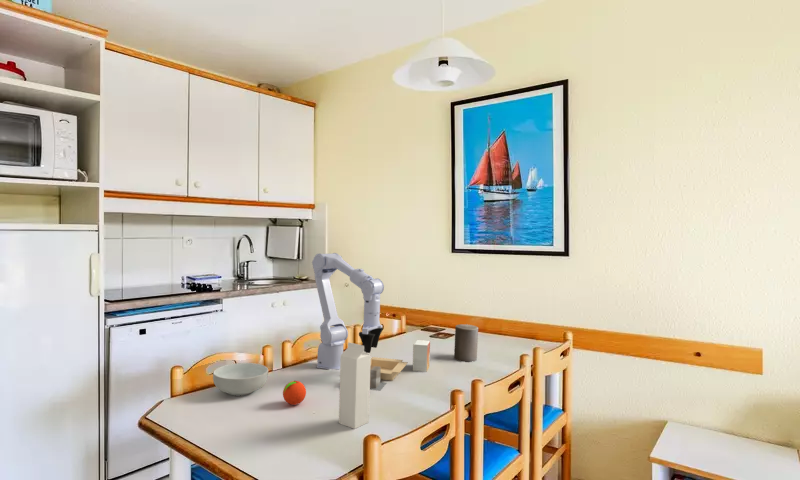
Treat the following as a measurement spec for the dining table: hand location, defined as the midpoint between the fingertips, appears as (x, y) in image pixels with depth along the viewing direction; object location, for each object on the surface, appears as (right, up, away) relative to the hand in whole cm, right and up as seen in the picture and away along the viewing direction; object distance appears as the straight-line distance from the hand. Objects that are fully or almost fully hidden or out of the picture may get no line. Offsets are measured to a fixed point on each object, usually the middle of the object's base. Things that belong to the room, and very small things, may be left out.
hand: (370, 349), depth 170 cm
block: (-1, -10, -9) cm, 14 cm away
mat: (-1, -10, -9) cm, 14 cm away
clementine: (-22, -10, -28) cm, 37 cm away
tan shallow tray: (+4, -10, +4) cm, 11 cm away
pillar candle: (+38, -11, +28) cm, 49 cm away
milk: (-2, -11, -40) cm, 41 cm away
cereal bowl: (-41, -10, -18) cm, 46 cm away
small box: (+19, -11, +12) cm, 24 cm away
